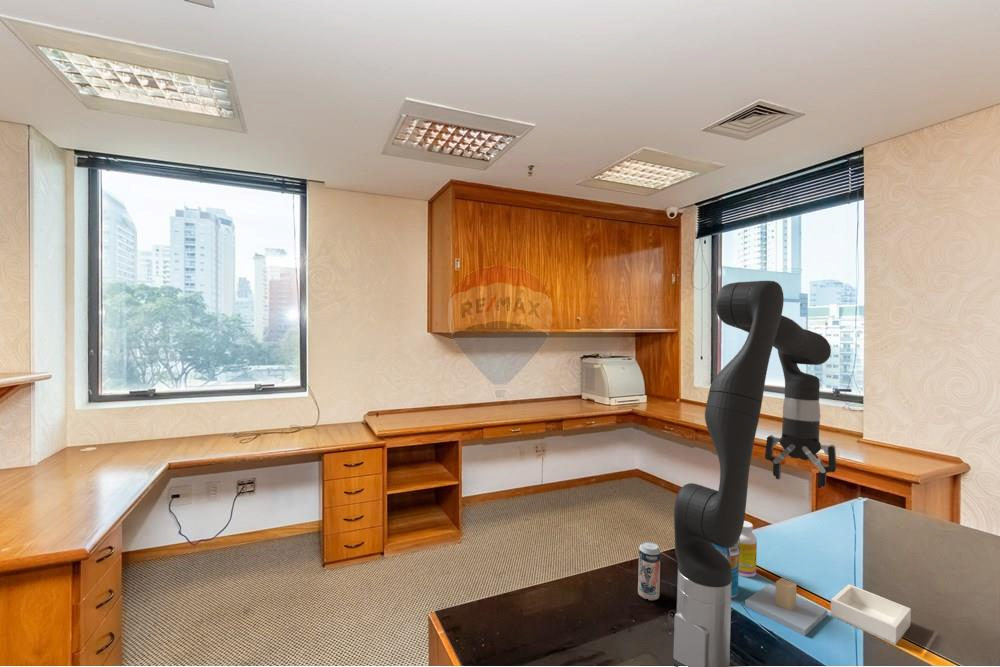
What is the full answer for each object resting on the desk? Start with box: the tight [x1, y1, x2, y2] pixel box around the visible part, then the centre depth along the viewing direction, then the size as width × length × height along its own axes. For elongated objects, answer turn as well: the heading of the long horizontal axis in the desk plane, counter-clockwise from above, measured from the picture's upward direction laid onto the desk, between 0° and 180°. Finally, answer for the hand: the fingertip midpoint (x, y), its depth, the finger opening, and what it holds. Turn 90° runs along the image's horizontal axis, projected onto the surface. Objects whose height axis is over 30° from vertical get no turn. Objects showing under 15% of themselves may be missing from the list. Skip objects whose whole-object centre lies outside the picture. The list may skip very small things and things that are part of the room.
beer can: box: [637, 541, 661, 601], centre depth 104 cm, size 5×5×12 cm
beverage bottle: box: [712, 538, 740, 599], centre depth 107 cm, size 8×8×20 cm
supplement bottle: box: [738, 520, 758, 578], centre depth 116 cm, size 7×7×13 cm
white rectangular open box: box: [830, 583, 912, 646], centre depth 96 cm, size 11×11×4 cm
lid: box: [744, 577, 828, 637], centre depth 99 cm, size 12×12×6 cm
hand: (798, 483), depth 107 cm, fingers open, 8 cm apart
